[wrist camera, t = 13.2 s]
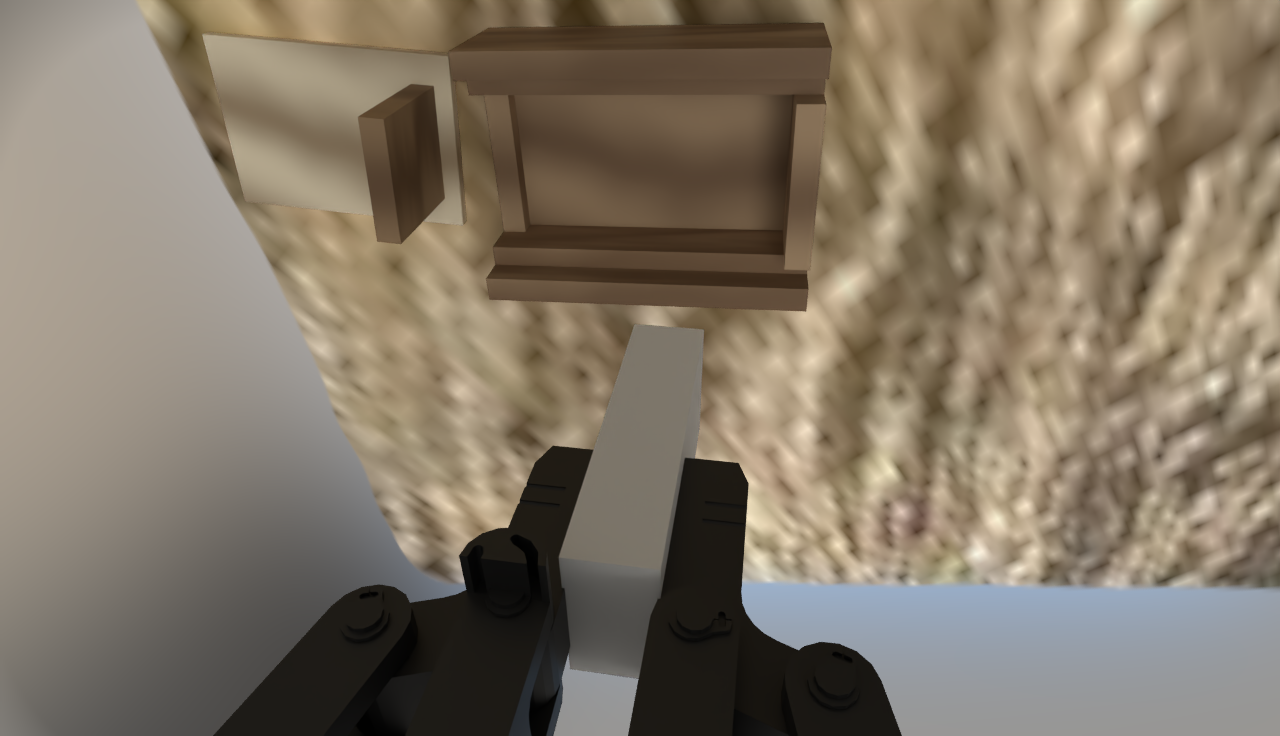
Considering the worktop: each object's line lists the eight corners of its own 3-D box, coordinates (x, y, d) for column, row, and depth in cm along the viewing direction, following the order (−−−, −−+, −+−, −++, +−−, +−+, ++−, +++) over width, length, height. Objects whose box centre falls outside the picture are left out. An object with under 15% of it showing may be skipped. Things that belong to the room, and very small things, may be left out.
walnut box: (488, 27, 37) (448, 51, 32) (823, 22, 35) (831, 47, 30) (519, 253, 43) (489, 299, 39) (802, 261, 41) (806, 311, 37)
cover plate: (214, 30, 39) (118, 59, 34) (455, 51, 38) (398, 86, 32) (255, 195, 44) (177, 245, 39) (468, 218, 43) (422, 273, 37)
